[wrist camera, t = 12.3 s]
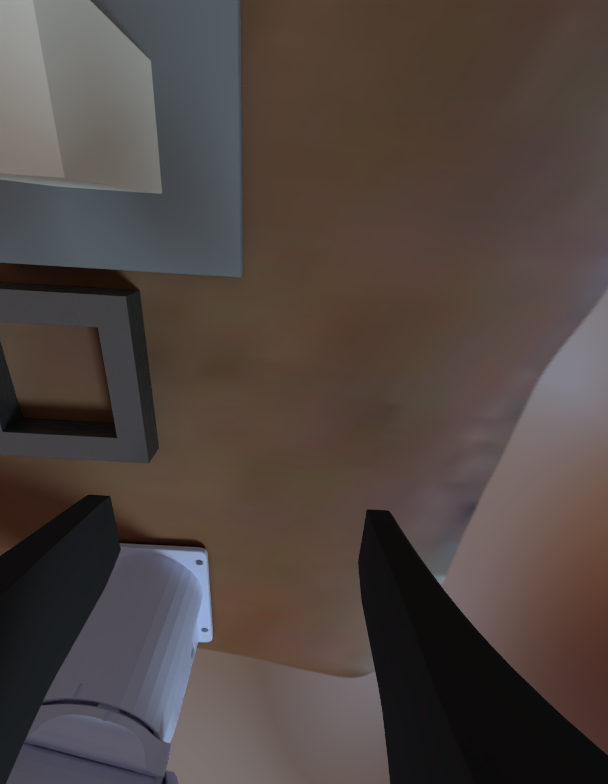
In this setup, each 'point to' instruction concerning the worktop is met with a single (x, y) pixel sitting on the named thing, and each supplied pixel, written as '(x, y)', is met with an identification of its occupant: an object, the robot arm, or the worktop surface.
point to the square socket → (122, 366)
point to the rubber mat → (176, 156)
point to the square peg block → (74, 100)
